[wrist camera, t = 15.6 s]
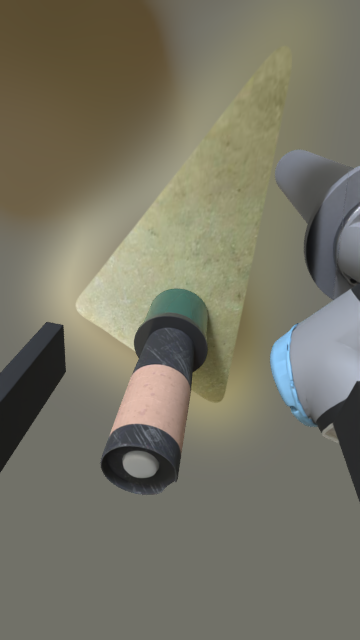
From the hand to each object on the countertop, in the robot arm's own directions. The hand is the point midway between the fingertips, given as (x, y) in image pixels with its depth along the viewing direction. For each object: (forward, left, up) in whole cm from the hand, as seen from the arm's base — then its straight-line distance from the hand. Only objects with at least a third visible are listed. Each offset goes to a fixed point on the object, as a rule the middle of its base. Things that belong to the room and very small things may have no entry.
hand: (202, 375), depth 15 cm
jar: (+8, +18, -37) cm, 41 cm away
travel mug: (+8, +18, -27) cm, 33 cm away
